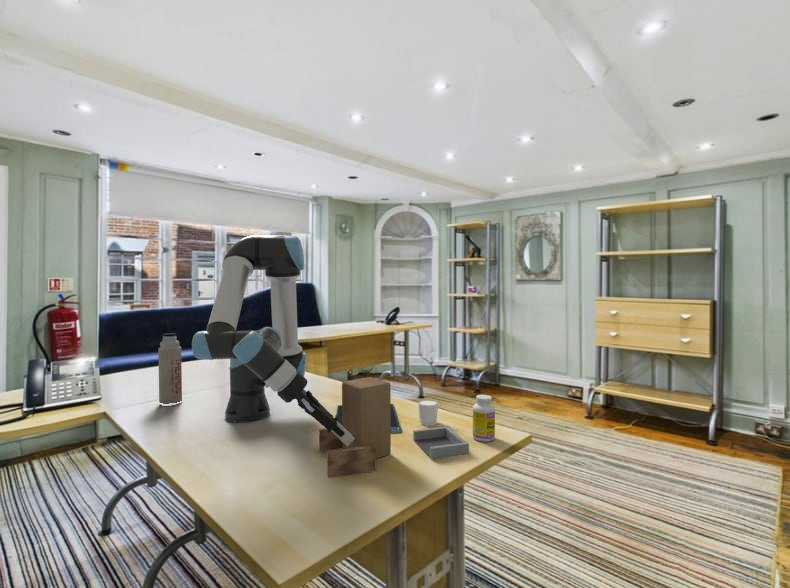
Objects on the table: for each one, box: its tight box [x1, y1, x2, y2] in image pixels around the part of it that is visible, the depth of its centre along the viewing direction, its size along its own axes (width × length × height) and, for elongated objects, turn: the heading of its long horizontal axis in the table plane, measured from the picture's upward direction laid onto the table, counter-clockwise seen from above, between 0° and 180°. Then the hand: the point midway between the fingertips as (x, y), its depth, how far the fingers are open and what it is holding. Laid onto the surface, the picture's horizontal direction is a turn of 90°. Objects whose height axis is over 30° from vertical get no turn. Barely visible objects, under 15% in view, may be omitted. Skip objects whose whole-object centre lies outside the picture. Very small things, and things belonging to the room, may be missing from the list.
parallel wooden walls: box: [318, 427, 376, 478], centre depth 110 cm, size 12×18×6 cm, turn 17°
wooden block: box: [341, 376, 392, 460], centre depth 114 cm, size 10×10×20 cm
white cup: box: [417, 399, 439, 427], centre depth 139 cm, size 7×7×7 cm
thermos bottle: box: [157, 332, 183, 404], centre depth 162 cm, size 8×8×28 cm
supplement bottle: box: [472, 394, 496, 443], centre depth 125 cm, size 7×7×13 cm
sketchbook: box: [335, 403, 402, 434], centre depth 143 cm, size 22×30×2 cm
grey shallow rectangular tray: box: [412, 426, 470, 460], centre depth 118 cm, size 11×14×3 cm
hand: (350, 441), depth 108 cm, fingers closed
